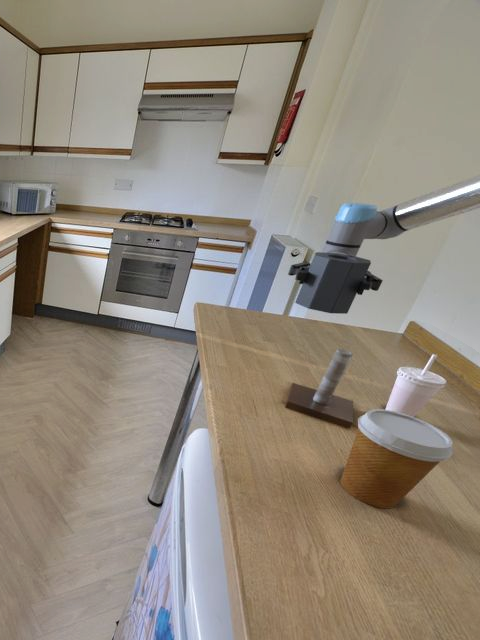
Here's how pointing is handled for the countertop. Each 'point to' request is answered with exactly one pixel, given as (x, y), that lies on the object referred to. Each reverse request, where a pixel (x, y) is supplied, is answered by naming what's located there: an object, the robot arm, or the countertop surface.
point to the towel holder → (325, 395)
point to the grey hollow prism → (332, 282)
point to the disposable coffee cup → (392, 456)
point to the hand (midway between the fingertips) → (331, 283)
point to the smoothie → (414, 389)
